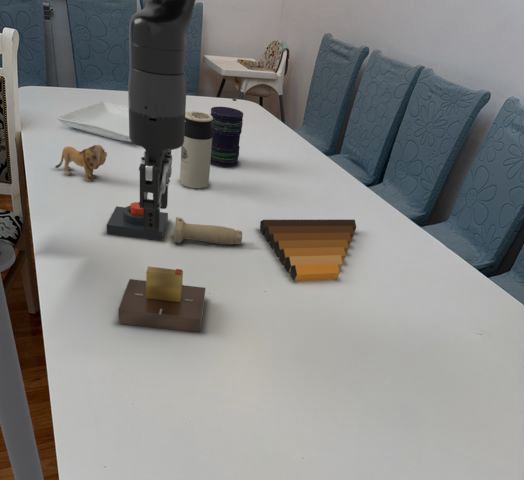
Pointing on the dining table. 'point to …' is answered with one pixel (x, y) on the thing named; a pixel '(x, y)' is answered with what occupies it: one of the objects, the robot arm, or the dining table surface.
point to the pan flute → (310, 246)
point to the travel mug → (196, 150)
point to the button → (136, 209)
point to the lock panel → (162, 308)
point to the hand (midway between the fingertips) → (156, 218)
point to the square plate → (100, 120)
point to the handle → (206, 233)
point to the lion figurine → (84, 159)
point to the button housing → (133, 224)
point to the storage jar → (225, 136)
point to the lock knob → (164, 284)
